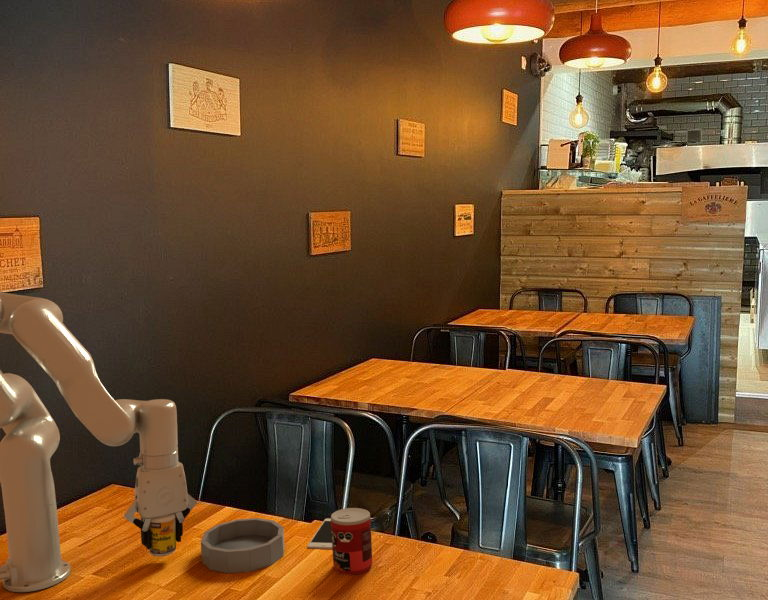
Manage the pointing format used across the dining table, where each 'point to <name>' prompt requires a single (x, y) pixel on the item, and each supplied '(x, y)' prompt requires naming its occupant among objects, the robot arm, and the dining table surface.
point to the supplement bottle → (163, 535)
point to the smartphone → (322, 536)
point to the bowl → (242, 545)
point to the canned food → (351, 541)
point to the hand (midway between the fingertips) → (162, 542)
